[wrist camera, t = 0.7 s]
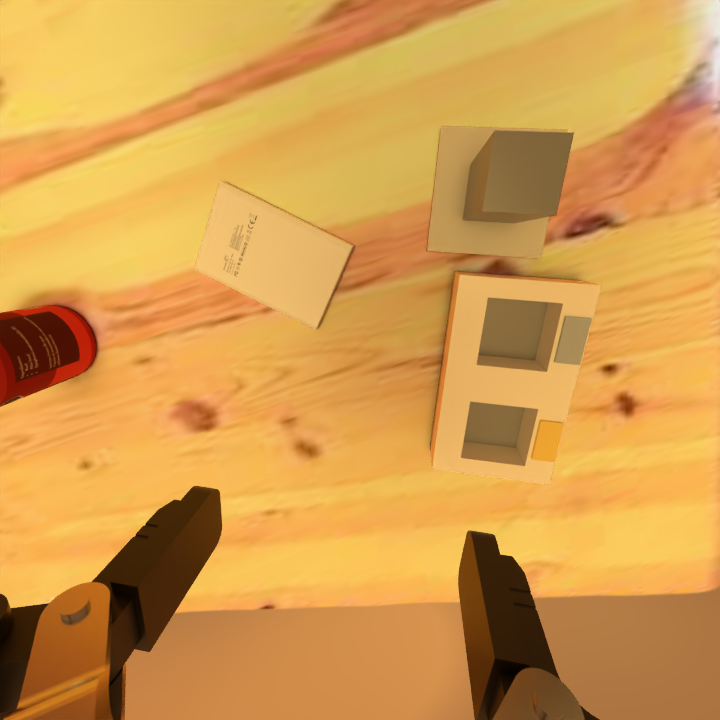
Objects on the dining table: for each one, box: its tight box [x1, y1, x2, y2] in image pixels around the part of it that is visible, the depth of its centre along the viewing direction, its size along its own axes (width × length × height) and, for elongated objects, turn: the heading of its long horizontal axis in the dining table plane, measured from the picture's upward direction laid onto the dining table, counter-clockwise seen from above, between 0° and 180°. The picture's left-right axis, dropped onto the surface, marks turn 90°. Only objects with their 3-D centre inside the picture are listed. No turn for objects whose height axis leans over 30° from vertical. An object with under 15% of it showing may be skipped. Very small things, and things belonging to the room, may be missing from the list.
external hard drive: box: [195, 181, 354, 330], centre depth 33 cm, size 2×8×12 cm
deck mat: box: [427, 126, 567, 258], centre depth 29 cm, size 9×9×1 cm
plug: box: [463, 130, 574, 223], centre depth 24 cm, size 4×4×9 cm
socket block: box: [430, 271, 602, 485], centre depth 31 cm, size 17×10×4 cm, turn 177°
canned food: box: [0, 305, 96, 407], centre depth 34 cm, size 8×8×11 cm
